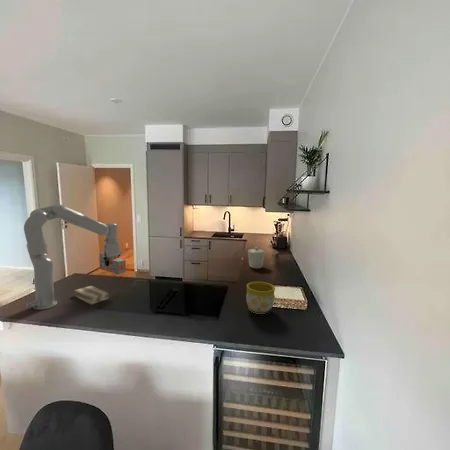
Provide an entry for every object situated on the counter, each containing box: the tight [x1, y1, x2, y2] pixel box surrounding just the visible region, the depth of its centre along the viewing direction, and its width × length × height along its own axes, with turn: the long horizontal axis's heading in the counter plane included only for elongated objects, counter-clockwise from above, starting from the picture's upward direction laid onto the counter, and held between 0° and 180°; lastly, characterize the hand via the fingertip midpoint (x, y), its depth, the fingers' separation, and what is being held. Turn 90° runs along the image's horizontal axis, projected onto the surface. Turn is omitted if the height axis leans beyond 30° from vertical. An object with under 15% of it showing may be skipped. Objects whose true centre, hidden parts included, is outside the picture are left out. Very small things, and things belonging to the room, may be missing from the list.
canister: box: [247, 246, 266, 270], centre depth 260 cm, size 18×18×21 cm
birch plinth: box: [73, 285, 110, 306], centre depth 176 cm, size 12×22×4 cm, turn 56°
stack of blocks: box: [99, 251, 127, 275], centre depth 186 cm, size 21×6×12 cm, turn 59°
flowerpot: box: [245, 281, 276, 315], centre depth 164 cm, size 18×18×16 cm
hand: (111, 264), depth 186 cm, fingers closed on stack of blocks, 6 cm apart
